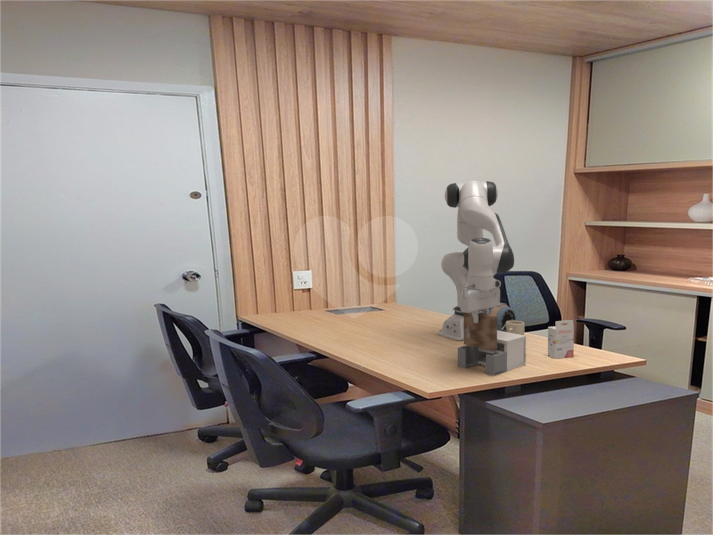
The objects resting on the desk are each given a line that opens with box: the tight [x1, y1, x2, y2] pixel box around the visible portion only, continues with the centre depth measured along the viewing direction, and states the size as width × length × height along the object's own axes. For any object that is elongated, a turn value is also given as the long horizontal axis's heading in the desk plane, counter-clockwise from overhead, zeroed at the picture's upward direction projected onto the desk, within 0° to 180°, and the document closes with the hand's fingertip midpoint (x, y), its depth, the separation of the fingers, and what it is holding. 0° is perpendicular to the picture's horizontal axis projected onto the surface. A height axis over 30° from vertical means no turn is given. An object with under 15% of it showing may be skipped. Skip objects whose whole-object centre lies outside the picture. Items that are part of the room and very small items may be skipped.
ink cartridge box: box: [547, 319, 575, 359], centre depth 200 cm, size 9×5×15 cm, turn 105°
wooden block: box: [463, 312, 497, 350], centre depth 183 cm, size 12×4×12 cm, turn 43°
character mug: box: [506, 320, 526, 335], centre depth 204 cm, size 11×7×13 cm, turn 138°
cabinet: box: [457, 330, 527, 377], centre depth 189 cm, size 16×20×11 cm
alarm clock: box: [488, 302, 517, 332], centre depth 222 cm, size 14×10×18 cm
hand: (480, 321), depth 184 cm, fingers closed on wooden block, 3 cm apart
